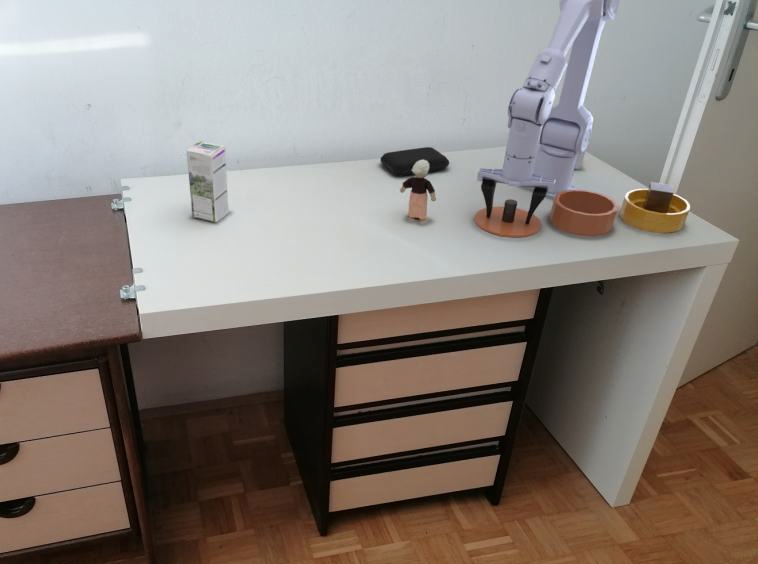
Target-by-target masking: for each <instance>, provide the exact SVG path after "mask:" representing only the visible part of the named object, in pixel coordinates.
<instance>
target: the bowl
mask: <svg viewBox="0 0 758 564" xmlns="http://www.w3.org/2000/svg"><path fill="white" fill-rule="evenodd" d="M648 189H649V188H636V189H631V190H628V191H626V193H625V195H624V197H623V201H622V204H621V206H620V207H621V208H620V211H619V217H620V218H621V220H622V221H623V222H624V223H626V224H627V225H629V226H631V227H633V228H635V229H639V230H641V231H647V232H651V233H661V234H671V233H676V232H679V231H680V230H683V229H684V226H685V224H686V221H687V218H688V215H689V213H690V209H691V204H690V203H689V201H688V200H687V199H686V198H683V197H681V196H680V195H679V194H675V193H673V196H672V199H671V202H670V205H669V208H668V211H667V213H658V212H653V211H648V210H645V209H643V205H644V201H645V198H646V195H647V192H648Z"/></svg>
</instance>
